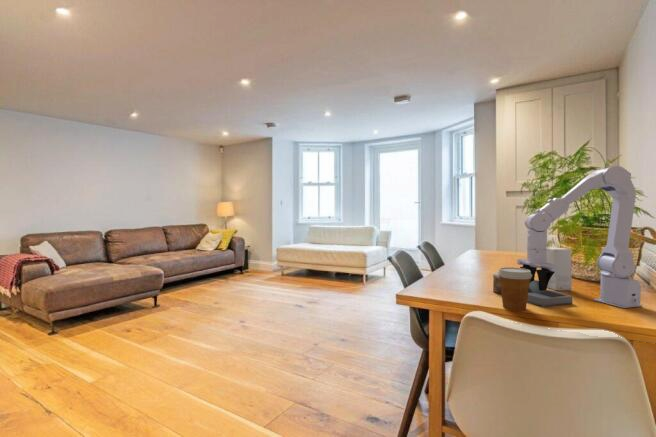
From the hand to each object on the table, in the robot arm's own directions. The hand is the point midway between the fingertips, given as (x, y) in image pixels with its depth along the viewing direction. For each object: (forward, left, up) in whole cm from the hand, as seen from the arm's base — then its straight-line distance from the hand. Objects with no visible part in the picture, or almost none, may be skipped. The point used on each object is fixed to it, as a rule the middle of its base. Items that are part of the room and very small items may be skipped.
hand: (536, 288), depth 116 cm
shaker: (+11, +5, -3) cm, 13 cm away
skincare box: (+10, -20, -4) cm, 23 cm away
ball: (0, 0, -2) cm, 2 cm away
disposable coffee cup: (-6, +15, -4) cm, 17 cm away
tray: (0, 0, -3) cm, 3 cm away
